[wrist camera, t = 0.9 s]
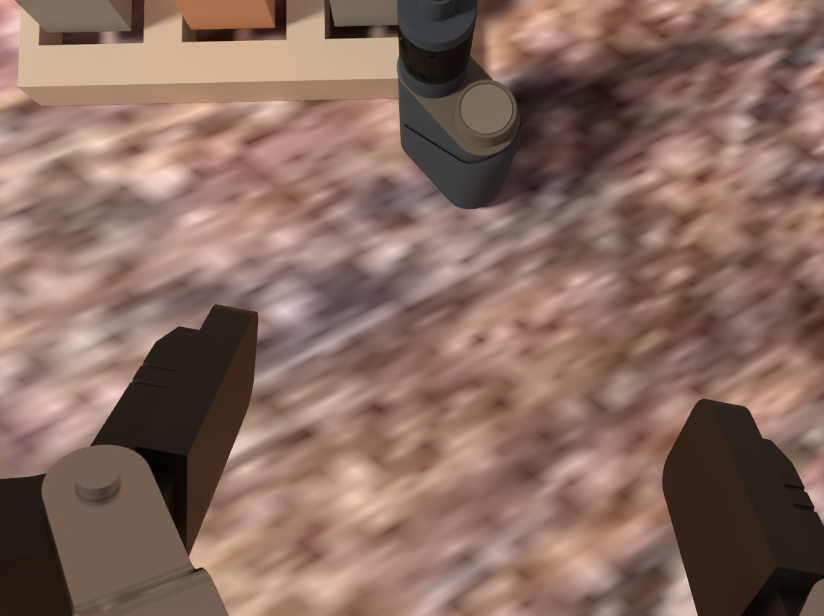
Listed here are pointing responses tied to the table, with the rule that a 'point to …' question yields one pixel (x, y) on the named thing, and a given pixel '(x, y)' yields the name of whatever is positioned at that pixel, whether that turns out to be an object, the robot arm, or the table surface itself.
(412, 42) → the vaping device
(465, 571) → the table surface
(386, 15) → the key right
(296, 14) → the keypad base
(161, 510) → the robot arm
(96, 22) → the key left
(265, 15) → the key mid
